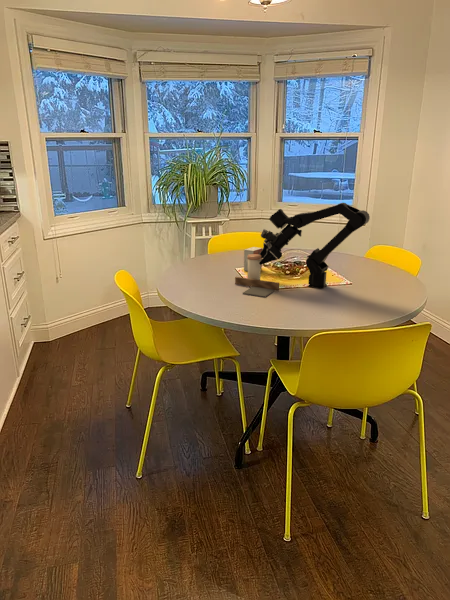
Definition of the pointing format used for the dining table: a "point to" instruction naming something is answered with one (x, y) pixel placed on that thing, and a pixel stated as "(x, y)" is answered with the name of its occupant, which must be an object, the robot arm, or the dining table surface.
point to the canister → (254, 266)
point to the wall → (257, 283)
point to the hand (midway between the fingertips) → (258, 261)
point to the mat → (258, 291)
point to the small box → (247, 252)
